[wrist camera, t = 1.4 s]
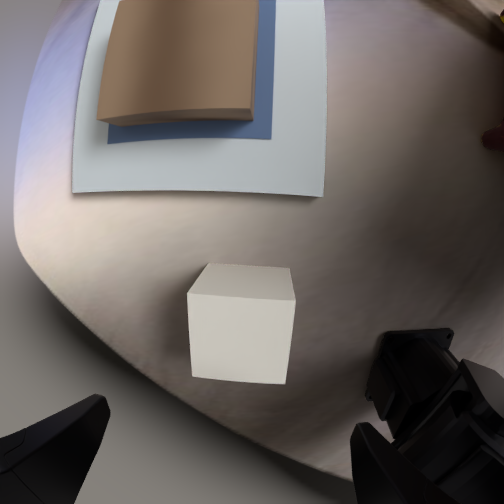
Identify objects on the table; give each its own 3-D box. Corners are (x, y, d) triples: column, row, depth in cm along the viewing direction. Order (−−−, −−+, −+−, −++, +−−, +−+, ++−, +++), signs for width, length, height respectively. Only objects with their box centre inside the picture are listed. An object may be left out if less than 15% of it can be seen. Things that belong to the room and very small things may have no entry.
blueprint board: (319, -19, 12) (327, -51, 8) (320, 195, 16) (334, 201, 12) (108, 0, 13) (83, -21, 9) (80, 191, 17) (43, 197, 13)
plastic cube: (289, 267, 18) (295, 300, 13) (282, 337, 19) (285, 384, 14) (208, 262, 18) (187, 293, 13) (209, 331, 19) (192, 376, 14)
